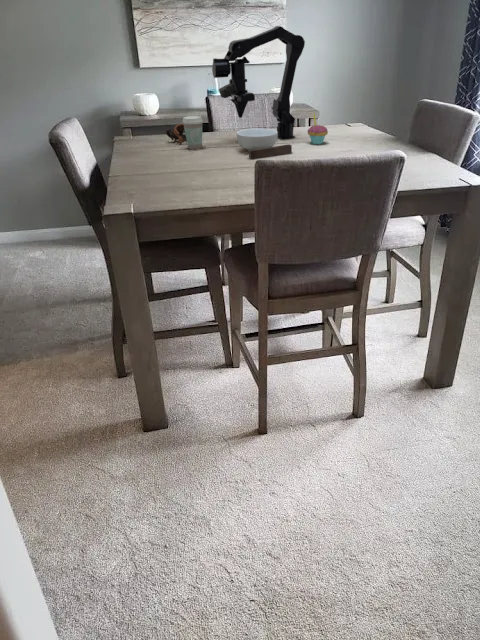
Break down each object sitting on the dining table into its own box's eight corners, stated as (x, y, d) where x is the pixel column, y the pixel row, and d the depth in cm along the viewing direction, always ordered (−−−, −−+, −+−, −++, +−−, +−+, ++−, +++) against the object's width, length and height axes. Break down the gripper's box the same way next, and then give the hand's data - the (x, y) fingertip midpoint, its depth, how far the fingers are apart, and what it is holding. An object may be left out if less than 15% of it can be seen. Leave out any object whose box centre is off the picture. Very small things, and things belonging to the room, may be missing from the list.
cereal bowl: (264, 156, 195) (263, 137, 191) (229, 152, 202) (228, 134, 198) (285, 147, 207) (285, 129, 203) (251, 144, 214) (251, 126, 210)
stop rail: (289, 152, 200) (289, 144, 198) (291, 153, 198) (291, 145, 196) (248, 158, 193) (248, 150, 192) (250, 159, 192) (250, 151, 190)
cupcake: (304, 144, 210) (305, 113, 203) (310, 140, 216) (311, 110, 210) (324, 145, 207) (325, 114, 200) (329, 141, 214) (331, 111, 207)
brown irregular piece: (192, 140, 227) (194, 124, 220) (189, 153, 222) (191, 138, 215) (166, 133, 225) (167, 118, 218) (163, 147, 220) (163, 132, 213)
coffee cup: (188, 151, 207) (184, 119, 200) (183, 147, 213) (179, 116, 206) (207, 148, 209) (205, 117, 202) (202, 144, 216) (199, 114, 209)
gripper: (211, 76, 208) (215, 116, 217) (229, 79, 194) (231, 122, 203) (236, 74, 212) (238, 113, 221) (254, 77, 198) (256, 120, 207)
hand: (240, 117), depth 213 cm, fingers closed
